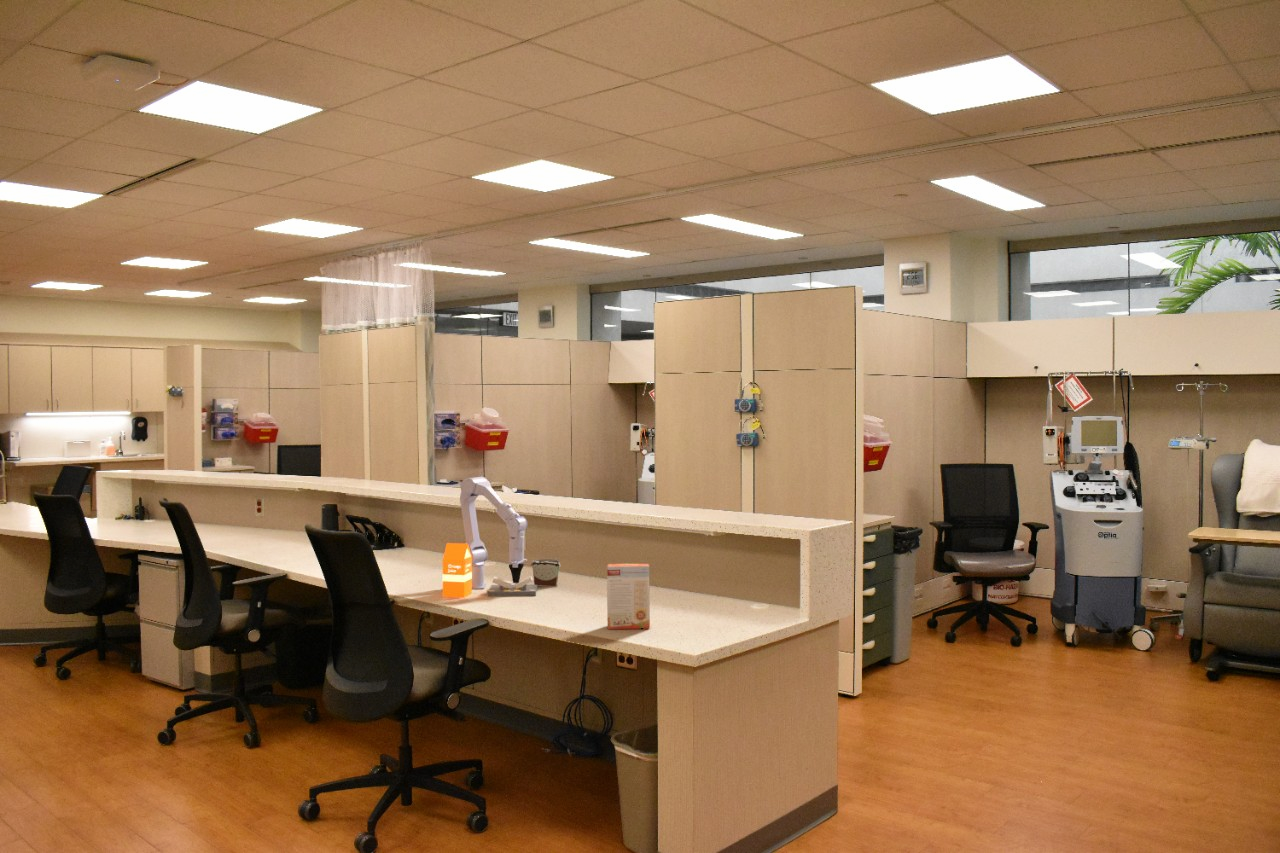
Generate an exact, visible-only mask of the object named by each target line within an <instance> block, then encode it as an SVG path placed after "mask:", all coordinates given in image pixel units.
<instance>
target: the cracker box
mask: <svg viewBox="0 0 1280 853" xmlns="http://www.w3.org/2000/svg"><path fill="white" fill-rule="evenodd" d="M606 567H607V568H606V569H607V571H606V575H607V576H606V579H607V580H606V590H607V591H606V595H607V596H606V598H607V599H606V600H607V602H606V604H607V606H606V608H607V614H606V615H607V616H606V617H607V620H606V621H607V629H608V630H631V629H633V630H646V629H647V630H648V629H650V627H651V626H650V625H651V624H650V623H651V622H650V621H651V620H650V619H651V616H650V615H651V614H650V613H651V610H650V608H651V607H650V604H651V602H650V601H651V600H650V588H651V587H650V564H649V563H608V564H607V565H606ZM641 628H643V629H641Z"/></svg>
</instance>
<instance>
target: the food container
mask: <svg viewBox="0 0 1280 853" xmlns="http://www.w3.org/2000/svg"><path fill="white" fill-rule="evenodd" d="M530 566H531V567H532V574H533V575H532V577H533V583H534V584H533V585H537V587H538V586H539V587H540V586H541V587H558V578H559V571H560V569H559V568H561V563H560V560H558V559H555V558H554V559H553V558H540V559H539V558H538V559H532V560H531V564H530Z"/></svg>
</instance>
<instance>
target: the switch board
mask: <svg viewBox="0 0 1280 853" xmlns="http://www.w3.org/2000/svg"><path fill="white" fill-rule="evenodd" d="M537 590H538V586H537V585H534V584H526V585H524V586H522V587H520V588H518V589H516V588H515V584H511V586H510V589H509V588H506V587H503V586H501V585H498V584H492V585H491V586H490V587H489V589H488V592H487V597H536V594H537V592H538V591H537Z"/></svg>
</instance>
